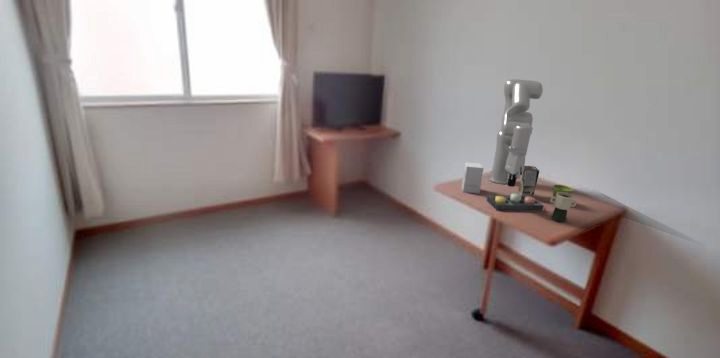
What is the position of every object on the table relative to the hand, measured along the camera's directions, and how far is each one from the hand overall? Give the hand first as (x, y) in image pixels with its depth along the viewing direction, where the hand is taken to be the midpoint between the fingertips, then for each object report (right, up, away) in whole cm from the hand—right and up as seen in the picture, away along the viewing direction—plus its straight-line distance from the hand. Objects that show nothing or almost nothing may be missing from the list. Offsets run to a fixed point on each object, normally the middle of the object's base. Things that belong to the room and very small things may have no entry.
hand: (510, 185), depth 187 cm
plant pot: (+30, -9, +12) cm, 34 cm away
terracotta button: (+11, -10, +5) cm, 16 cm away
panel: (+3, -10, +4) cm, 11 cm away
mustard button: (-5, -10, +3) cm, 11 cm away
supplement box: (-14, -3, +22) cm, 26 cm away
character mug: (+19, -16, -9) cm, 27 cm away
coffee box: (+15, -6, +19) cm, 25 cm away
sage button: (+3, -8, +3) cm, 10 cm away
